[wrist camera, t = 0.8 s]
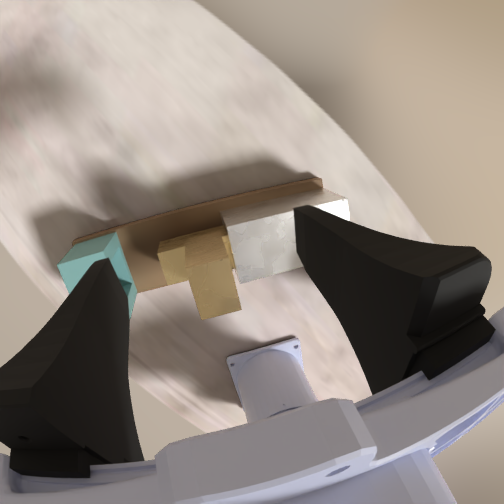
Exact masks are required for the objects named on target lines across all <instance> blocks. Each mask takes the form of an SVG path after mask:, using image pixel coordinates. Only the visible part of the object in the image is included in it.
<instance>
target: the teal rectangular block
mask: <svg viewBox="0 0 504 504" xmlns="http://www.w3.org/2000/svg"><path fill="white" fill-rule="evenodd" d="M108 257H109V259H110V261H111V264H112V266H113V268H114V270H115V272H116V274H117V276H118V278H119V280H120V282H121V285H122V287H123V289H124V291H125V293H126V295H127V297H128V304H129V318H131V314H132V310H133V306H134V302H135V298H136V294H137V289H136V286H135V284H134V281H133V278H132V276H131V273H130V270H129V267H128V265H127V262H126V259H125V256H124V253H123V251H122V248H121V245H120V242H119V239H118V236H117V233H116V232H114V233H111V234H107V235H104V236H101V237H97V238H94V239H91V240H88V241H84V242H81V243H78V244H75V245H74V246H73V247H72V249H71V250H70V251H69V252H68V253H67V254H66V255H65V256H64V258H63V259H62V260H61V261H60V262H59V263H58V264H57V266H58V269H59V271H60V274H61V276H62V278H63V281H64V283H65V285H66V288H67V290H68V292H69V294H70V293H71V291H72V290H73V289H74V287H75V286H76V285H77V283H78V282H79V280H80V279H81V278H82V276H83V275H84V274H85V272H86V271H87V270H88V268H89V267H90V266H91V265H92V264H93V263H94V262H95V261H98V260H101V259H105V258H108Z"/></svg>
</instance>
